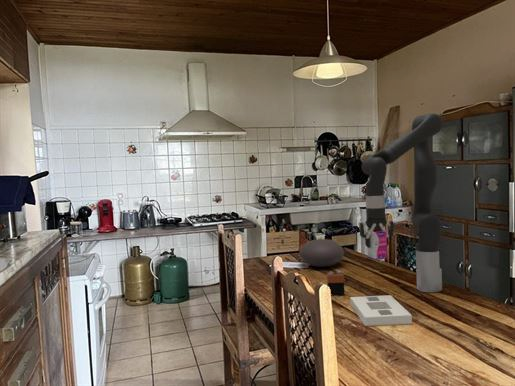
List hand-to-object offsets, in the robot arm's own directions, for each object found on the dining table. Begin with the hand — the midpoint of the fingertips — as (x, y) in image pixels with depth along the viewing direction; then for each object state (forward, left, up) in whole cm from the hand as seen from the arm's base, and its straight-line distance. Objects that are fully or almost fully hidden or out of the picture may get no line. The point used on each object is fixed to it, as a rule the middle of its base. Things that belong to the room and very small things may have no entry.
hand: (377, 246), depth 162 cm
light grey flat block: (+5, +17, -22) cm, 28 cm away
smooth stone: (+14, -60, -22) cm, 65 cm away
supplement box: (0, 0, -5) cm, 5 cm away
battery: (+16, -8, -22) cm, 28 cm away
